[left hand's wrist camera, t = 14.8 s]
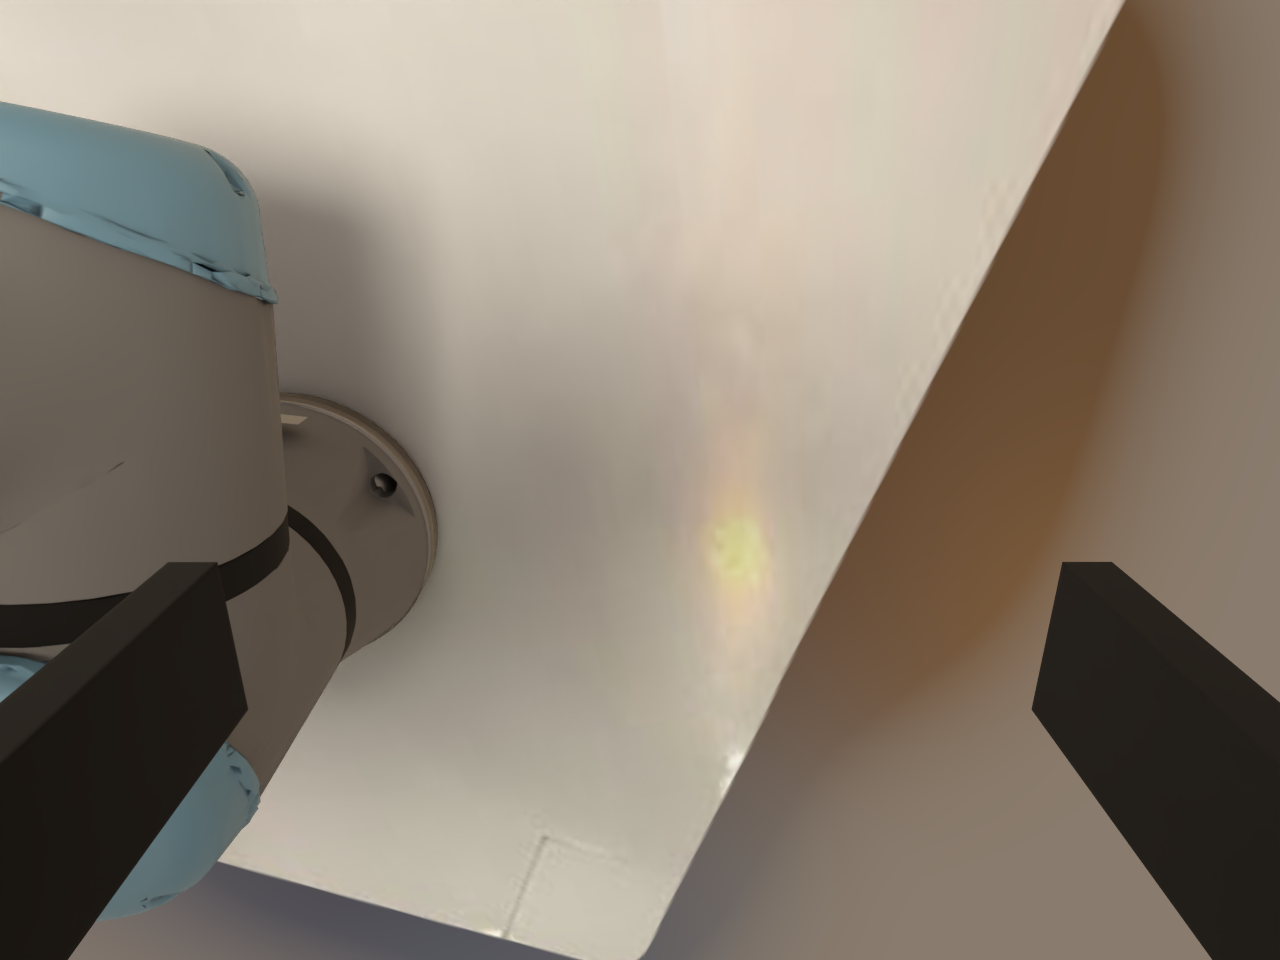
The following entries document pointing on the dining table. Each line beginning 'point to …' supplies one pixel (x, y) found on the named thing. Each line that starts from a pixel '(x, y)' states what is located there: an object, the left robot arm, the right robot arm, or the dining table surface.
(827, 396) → the dining table surface
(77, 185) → the left robot arm
